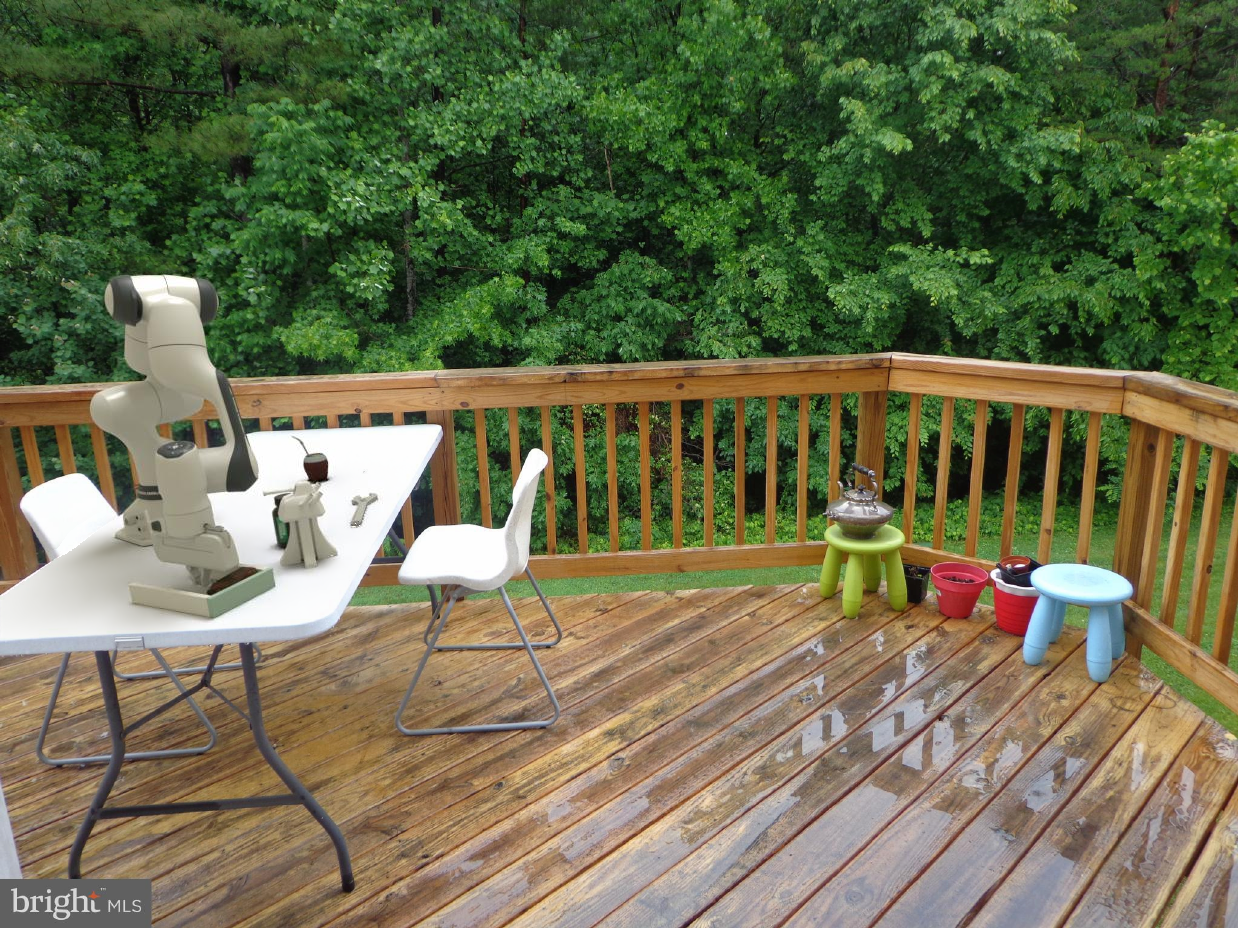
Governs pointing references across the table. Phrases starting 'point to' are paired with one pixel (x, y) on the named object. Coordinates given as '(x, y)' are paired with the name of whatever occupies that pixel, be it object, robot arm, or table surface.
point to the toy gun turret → (303, 524)
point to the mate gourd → (315, 465)
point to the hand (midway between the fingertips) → (202, 584)
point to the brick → (231, 579)
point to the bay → (205, 603)
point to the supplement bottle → (280, 524)
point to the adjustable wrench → (361, 507)
